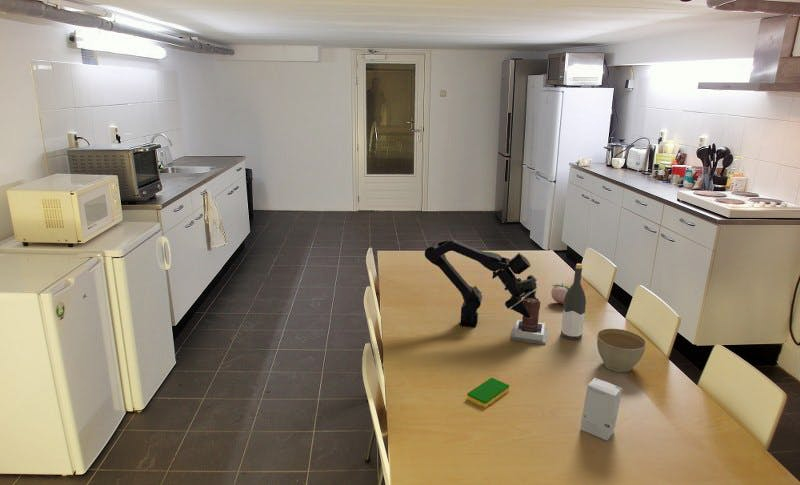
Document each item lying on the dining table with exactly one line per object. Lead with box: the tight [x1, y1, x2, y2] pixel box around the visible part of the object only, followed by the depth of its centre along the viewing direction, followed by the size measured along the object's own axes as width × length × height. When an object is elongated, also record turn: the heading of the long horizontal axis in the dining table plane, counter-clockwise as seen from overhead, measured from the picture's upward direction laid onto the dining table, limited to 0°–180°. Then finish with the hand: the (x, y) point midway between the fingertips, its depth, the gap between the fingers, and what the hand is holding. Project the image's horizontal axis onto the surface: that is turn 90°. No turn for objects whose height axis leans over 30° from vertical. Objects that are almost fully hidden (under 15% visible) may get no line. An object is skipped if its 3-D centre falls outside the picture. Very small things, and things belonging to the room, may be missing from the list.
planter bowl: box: [596, 328, 647, 373], centre depth 189 cm, size 16×16×11 cm
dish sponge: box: [466, 377, 510, 408], centre depth 172 cm, size 7×14×2 cm, turn 137°
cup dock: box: [510, 319, 548, 346], centre depth 213 cm, size 13×13×4 cm
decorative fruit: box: [550, 283, 571, 305], centre depth 243 cm, size 9×8×10 cm
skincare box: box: [579, 377, 623, 441], centre depth 153 cm, size 8×6×15 cm
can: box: [521, 297, 541, 333], centre depth 212 cm, size 6×6×14 cm
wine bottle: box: [560, 263, 587, 341], centre depth 210 cm, size 8×8×30 cm
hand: (534, 313), depth 210 cm, fingers open, 9 cm apart
